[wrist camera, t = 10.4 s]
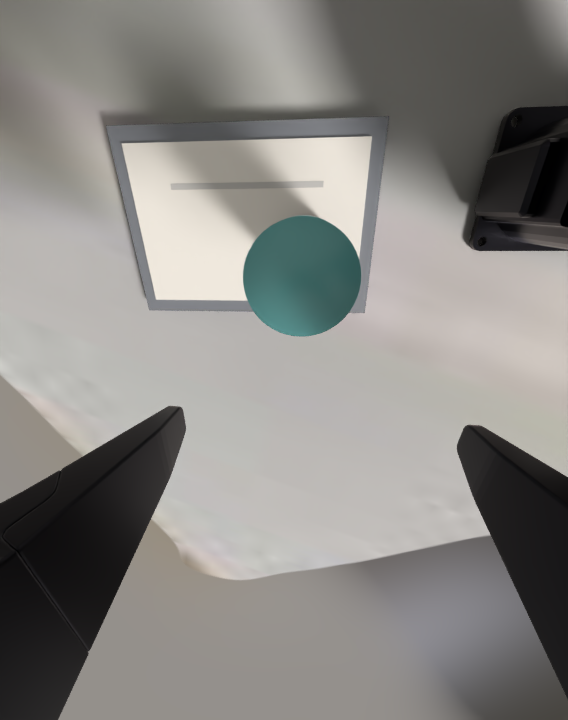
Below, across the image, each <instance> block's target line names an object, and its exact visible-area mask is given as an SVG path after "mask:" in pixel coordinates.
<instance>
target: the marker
mask: <svg viewBox="0 0 568 720" xmlns="http://www.w3.org/2000/svg"><path fill="white" fill-rule="evenodd" d="M243 285H244V291H245V295H246V298H247V300H248V303H249V305H250V306H251V308H252V310H253V311H254V313H255V314H256V315H257V316H258V317H259V319H260V320H261V321H263V322H264V323H265V324H266V325H267V326H269V327H271V328H272V329H274V330H276V331H278V332H280V333H283V334H286V335H291V336H311V335H316V334H319V333H322V332H325V331H327V330H329V329H331V328H332V327H334V326H335V325H337V324H338V323H339V322H340V321H342V320H343V319H344V318H345V317H346V315H347V314H348V313H349V312H350V310H351V309H352V307H353V305H354V303H355V301H356V299H357V297H358V293H359V290H360V285H361V266H360V262H359V258H358V255H357V252H356V250H355V248H354V246H353V244H352V243H351V241H350V240H349V239H348V237H347V236H346V235H345V234H344V233H343V232H342V231H341V230H340V229H338V228H337V227H336V226H334V225H333V224H331V223H329V222H327V221H326V220H324V219H321V218H318V217H315V216H310V215H298V216H293V217H289V218H286V219H284V220H281V221H279V222H277V223H275V224H273V225H271V226H270V227H268V228H267V229H266V230H264V231H263V232H262V233H261V234H260V235H259V236H258V237H257V239H256V240H255V241H254V243H253V244H252V246H251V248H250V250H249V251H248V254H247V257H246V259H245V263H244V269H243Z"/></svg>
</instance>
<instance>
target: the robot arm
mask: <svg viewBox="0 0 568 720" xmlns="http://www.w3.org/2000/svg"><path fill="white" fill-rule="evenodd" d="M513 117H516V118H517V124H516V126H515V127H512V125H511V120H512V118H513ZM475 213H476V219H475V223H474V227H473V230H472V234H471V238H470V243H469V245H470V247H471V248H472V249H474V250H478V251H568V106H553V107H524V108H517V109H515V110H512V111H511V112H509V113H508V114H506V116H505V117H504V118H503V120H502V123H501V126H500V130H499V133H498V137H497V141H496V144H495V148H494V152H493V155H492V156H491V157H490V158H489V159H488V161H487V165H486V169H485V173H484V177H483V180H482V184H481V188H480V192H479V196H478V199H477V203H476V207H475ZM481 237H482V238H483V242H482V243H481V244H480V245H478V244H477V241H478V240H479V239H480V238H481ZM185 431H186V425H185V419H184V413H183V409H182V408H181V407H178V406H168V407H166V408H165V409H163V410H161V411H159V412H158V413H156V414H154V415H153V416H151V417H149V418H148V419H146V420H144V421H142V422H141V423H139V424H137V425H136V426H134V427H132V428H131V429H129V430H127V431H125V432H124V433H122V434H120V435H119V436H117V437H115V438H114V439H112V440H110V441H108V442H107V443H105V444H103V445H102V446H100V447H98V448H96V449H95V450H93V451H91V452H90V453H88V454H86V455H85V456H83V457H81V458H80V459H78V460H76V461H74V462H73V463H71V464H69V465H68V466H66V467H64V468H63V469H62V470H61V471H57V472H56V473H54V474H52V475H50V476H49V477H48V478H46V479H44V480H42V481H40V482H38V483H37V484H35V485H33V486H31V487H30V488H28V489H26V490H24V491H23V492H21V493H19V494H17V495H15V496H13V497H11V498H10V499H8V500H6V501H4V502H2V503H0V720H58V718H59V716H60V714H61V712H62V710H63V707H64V706H65V704H66V701H67V699H68V697H69V695H70V693H71V691H72V688H73V686H74V684H75V682H76V680H77V678H78V675H79V673H80V671H81V669H82V667H83V665H84V663H85V660H86V658H87V656H88V651H89V650H90V649H91V647H92V644H93V643H94V640H95V638H96V636H97V634H98V632H99V630H100V628H101V625H102V623H103V621H104V619H105V617H106V615H107V612H108V610H109V608H110V606H111V604H112V602H113V600H114V597H115V595H116V593H117V591H118V589H119V587H120V584H121V582H122V580H123V577H124V576H125V573H126V571H127V569H128V567H129V565H130V563H131V560H132V558H133V556H134V554H135V552H136V550H137V548H138V546H139V543H140V541H141V539H142V537H143V535H144V533H145V531H146V528H147V526H148V524H149V522H150V520H151V518H152V515H153V513H154V511H155V509H156V507H157V505H158V502H159V500H160V498H161V496H162V494H163V492H164V490H165V487H166V485H167V483H168V481H169V478H170V476H171V474H172V471H173V468H174V465H175V462H176V459H177V456H178V453H179V450H180V447H181V444H182V441H183V438H184V435H185ZM457 452H458V455H459V458H460V461H461V464H462V467H463V469H464V472H465V475H466V478H467V481H468V484H469V487H470V490H471V492H472V495H473V497H474V500H475V502H476V504H477V507H478V509H479V511H480V513H481V515H482V517H483V520H484V522H485V524H486V526H487V528H488V530H489V532H490V534H491V537H492V539H493V540H494V543H495V545H496V547H497V549H498V552H499V554H500V555H501V558H502V560H503V562H504V564H505V566H506V568H507V571H508V573H509V575H510V577H511V579H512V581H513V583H514V586H515V588H516V589H517V592H518V594H519V596H520V598H521V601H522V603H523V605H524V607H525V609H526V611H527V613H528V616H529V618H530V620H531V622H532V624H533V626H534V628H535V630H536V633H537V635H538V637H539V639H540V641H541V643H542V645H543V648H544V650H545V652H546V654H547V656H548V658H549V660H550V663H551V665H552V667H553V669H554V671H555V673H556V675H557V677H558V680H559V682H560V684H561V686H562V688H563V690H564V692H565V695H566V697H567V699H568V477H566V476H565V475H563V474H561V473H560V472H558V471H556V470H555V469H553V468H551V467H550V466H548V465H546V464H545V463H543V462H541V461H540V460H538V459H536V458H535V457H533V456H531V455H530V454H528V453H526V452H525V451H523V450H521V449H519V448H518V447H516V446H514V445H513V444H511V443H509V442H508V441H506V440H504V439H503V438H501V437H499V436H498V435H496V434H494V433H493V432H491V431H489V430H488V429H486V428H484V427H482V426H479V425H466V426H465V427H464V429H463V431H462V434H461V436H460V439H459V441H458V444H457Z"/></svg>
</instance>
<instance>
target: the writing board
mask: <svg viewBox="0 0 568 720" xmlns="http://www.w3.org/2000/svg"><path fill="white" fill-rule="evenodd" d="M388 121H389V116H384V117H354V118H324V119H293V120H263V121H233V122H203V123H173V124H143V125H113V126H106V129H107V133H108V137H109V142H110V146H111V150H112V154H113V158H114V163H115V167H116V171H117V175H118V180H119V184H120V188H121V192H122V197H123V201H124V205H125V209H126V214H127V218H128V222H129V226H130V231H131V235H132V239H133V243H134V248H135V252H136V256H137V260H138V264H139V269H140V273H141V277H142V281H143V286H144V290H145V294H146V298H147V303H148V307H149V310H169V311H247V312H254V311H253V310H252V308H251V306H250V305H249V303H248V300H247V298H246V295H245V291H244V285H243V269H244V263H245V259H246V257H247V254H248V251H249V250H250V248H251V246H252V244H253V243H254V241H255V240H256V239H257V237H258V236H259V235H260V234H261V233H262V232H263V231H264V230H266V229H267V228H268V227H270V226H271V225H273V224H275V223H277V222H279V221H281V220H284V219H286V218H289V217H293V216H298V215H310V216H315V217H318V218H321V219H324V220H326V221H327V222H329V223H331V224H333V225H334V226H336V227H337V228H338V229H340V230H341V231H342V232H343V233H344V234H345V235H346V236H347V237H348V239H349V240H350V241H351V243H352V244H353V246H354V248H355V250H356V252H357V255H358V258H359V262H360V266H361V285H360V290H359V293H358V297H357V299H356V301H355V303H354V305H353V307H352V309H351V310H350V312H349V313H365V306H366V298H367V290H368V282H369V274H370V266H371V258H372V250H373V242H374V234H375V226H376V218H377V210H378V202H379V194H380V186H381V178H382V170H383V162H384V153H385V145H386V137H387V129H388Z"/></svg>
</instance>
